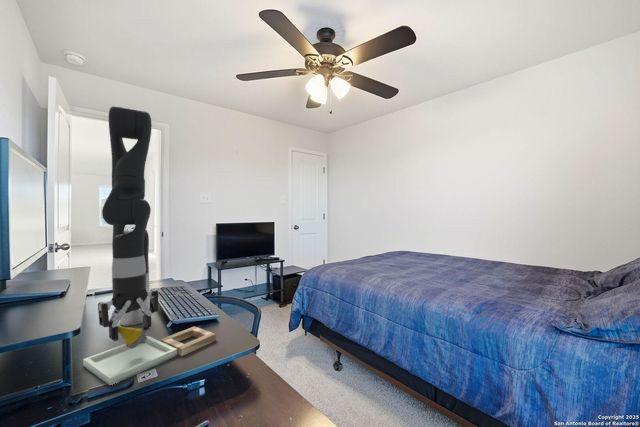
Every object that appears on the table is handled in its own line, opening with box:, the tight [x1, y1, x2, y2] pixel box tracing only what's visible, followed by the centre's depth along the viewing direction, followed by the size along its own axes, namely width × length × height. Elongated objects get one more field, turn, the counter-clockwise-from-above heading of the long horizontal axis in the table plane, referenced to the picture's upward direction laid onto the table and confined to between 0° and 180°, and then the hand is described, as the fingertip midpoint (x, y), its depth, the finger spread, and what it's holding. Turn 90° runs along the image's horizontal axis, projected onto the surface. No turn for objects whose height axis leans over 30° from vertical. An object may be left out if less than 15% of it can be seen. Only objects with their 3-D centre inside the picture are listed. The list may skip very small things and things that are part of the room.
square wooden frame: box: [159, 326, 217, 357], centre depth 87 cm, size 11×11×2 cm
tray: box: [82, 335, 178, 386], centre depth 77 cm, size 16×16×2 cm
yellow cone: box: [117, 325, 147, 349], centre depth 77 cm, size 5×5×10 cm
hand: (131, 334), depth 77 cm, fingers closed on yellow cone, 7 cm apart
